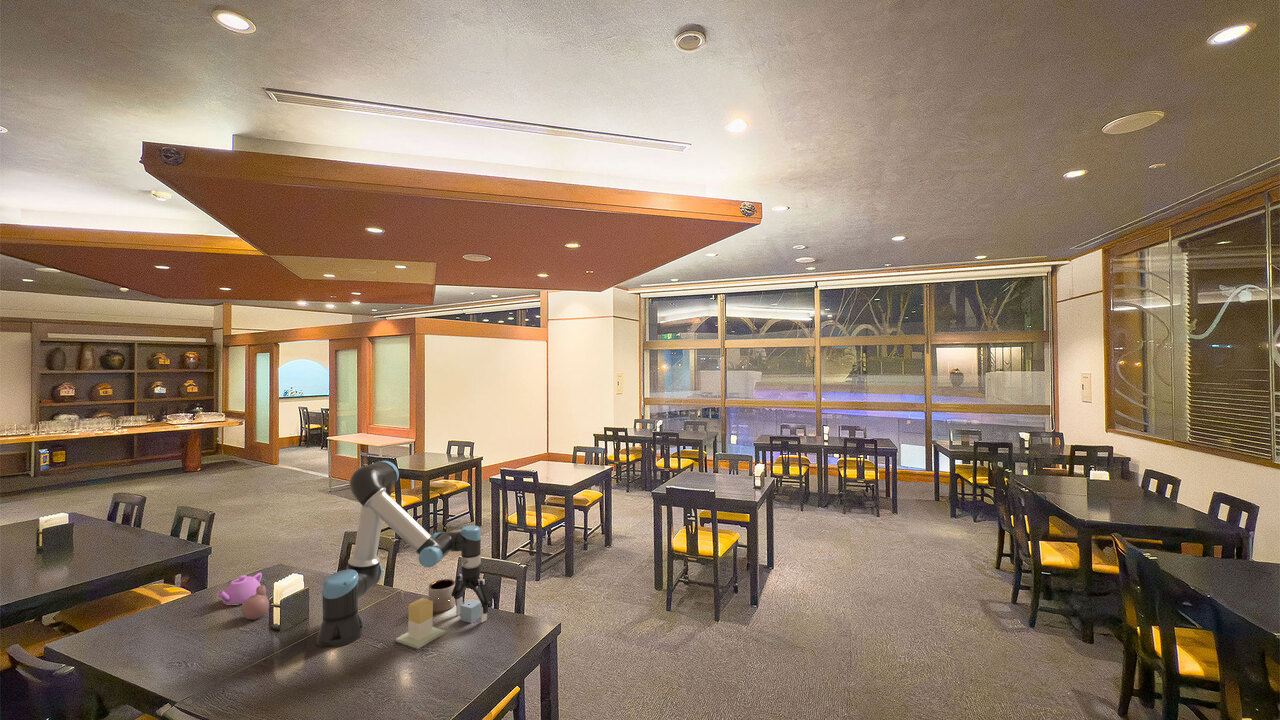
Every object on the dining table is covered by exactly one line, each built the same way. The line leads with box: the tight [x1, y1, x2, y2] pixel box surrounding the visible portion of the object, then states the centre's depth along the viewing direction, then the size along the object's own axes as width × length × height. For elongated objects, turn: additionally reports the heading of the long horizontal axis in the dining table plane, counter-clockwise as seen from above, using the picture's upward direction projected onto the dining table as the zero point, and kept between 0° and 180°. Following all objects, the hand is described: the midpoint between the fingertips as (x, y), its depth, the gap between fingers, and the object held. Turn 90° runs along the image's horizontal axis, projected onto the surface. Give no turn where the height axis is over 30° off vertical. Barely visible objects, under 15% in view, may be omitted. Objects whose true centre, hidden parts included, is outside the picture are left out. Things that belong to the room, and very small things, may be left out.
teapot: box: [216, 572, 263, 605], centre depth 218 cm, size 14×20×11 cm
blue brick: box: [459, 598, 482, 624], centre depth 200 cm, size 6×6×6 cm
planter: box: [427, 578, 456, 613], centre depth 210 cm, size 11×11×10 cm
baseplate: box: [395, 617, 445, 650], centre depth 186 cm, size 12×12×7 cm
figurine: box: [240, 585, 270, 620], centre depth 202 cm, size 9×11×12 cm
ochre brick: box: [408, 597, 434, 624], centre depth 186 cm, size 6×6×6 cm
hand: (471, 617), depth 200 cm, fingers open, 13 cm apart
